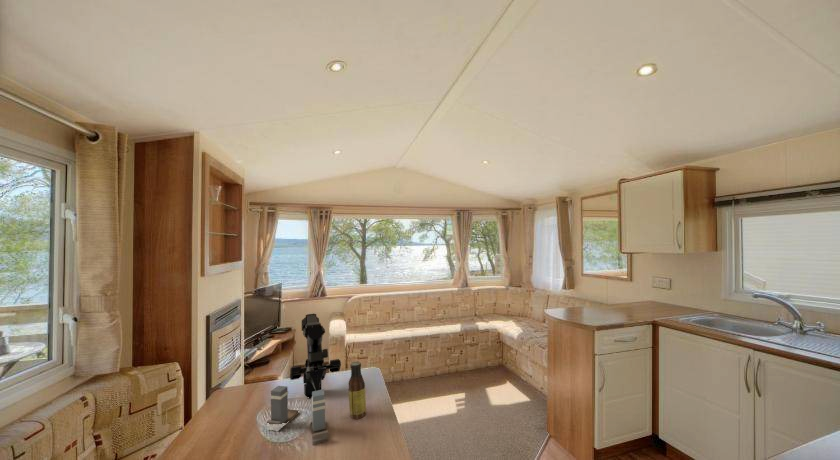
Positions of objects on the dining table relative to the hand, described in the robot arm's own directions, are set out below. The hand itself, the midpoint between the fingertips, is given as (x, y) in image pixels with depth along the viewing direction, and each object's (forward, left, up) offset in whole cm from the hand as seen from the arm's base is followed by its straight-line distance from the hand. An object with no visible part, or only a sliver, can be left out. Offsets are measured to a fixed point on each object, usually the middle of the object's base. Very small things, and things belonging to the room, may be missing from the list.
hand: (317, 391), depth 114 cm
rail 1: (+11, -8, -11) cm, 17 cm away
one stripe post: (+12, -6, -10) cm, 17 cm away
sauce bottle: (-14, +5, -11) cm, 19 cm away
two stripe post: (+1, +6, -10) cm, 12 cm away
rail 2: (+1, +7, -11) cm, 13 cm away
